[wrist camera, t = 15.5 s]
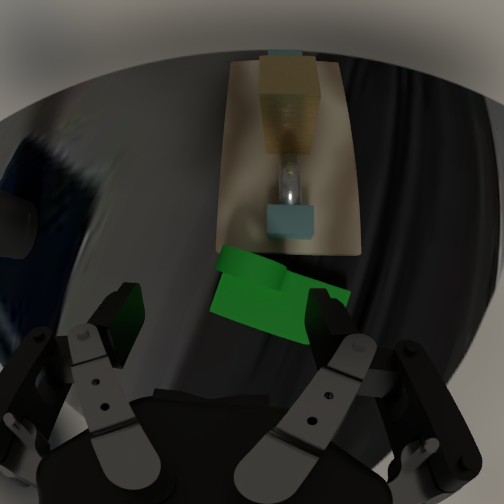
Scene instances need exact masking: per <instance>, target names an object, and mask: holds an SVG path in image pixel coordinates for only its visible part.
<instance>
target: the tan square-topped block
mask: <svg viewBox="0 0 504 504" xmlns="http://www.w3.org/2000/svg"><path fill="white" fill-rule="evenodd" d="M320 99H321V90H320V83H319V77H318V70H317V64H316V58H315V56H288V55H272V56H259V101H260V108H261V116H262V124H263V131H264V140H265V148H266V154H285V153H294V154H297V155H310V151H311V146H312V141H313V136H314V131H315V126H316V120H317V115H318V110H319V104H320Z"/></svg>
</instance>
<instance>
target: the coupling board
mask: <svg viewBox="0 0 504 504" xmlns="http://www.w3.org/2000/svg"><path fill="white" fill-rule="evenodd" d="M272 55H288V56H302V50H268V56H272ZM316 64H317V70H318V77H319V83H320V90H321V99H320V104H319V110H318V115H317V120H316V126H315V131H314V136H313V141H312V146H311V151H310V155H297V154H294V153H285V154H266V148H265V140H264V131H263V124H262V116H261V108H260V101H259V60H252V61H236V62H231V66H230V75H229V84H228V93H227V103H226V113H225V124H224V135H223V146H222V159H221V172H220V186H219V201H218V217H217V236H216V252H218V253H220V251H221V249H222V246H223V245H226V246H231V247H234V248H238V249H241V250H245V251H248V252H251V253H254V254H285V255H346V256H357V255H360V254H361V232H360V212H359V197H358V185H357V175H356V165H355V157H354V149H353V141H352V134H351V127H350V121H349V115H348V109H347V104H346V98H345V93H344V88H343V83H342V78H341V74H340V69H339V65H338V63H335V62H323V61H316Z"/></svg>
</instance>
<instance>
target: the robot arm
mask: <svg viewBox="0 0 504 504" xmlns="http://www.w3.org/2000/svg"><path fill="white" fill-rule="evenodd" d="M37 231H38V213H37V209H36V207H35V205H34V204H33V203H31V202H29V201H26V200H24V199H21V198H18V197H16V196H14V195H11V194H8V193H6V192H3V191H1V190H0V256H2V257H8V258H14V259H23V258H25V257H26V256H27V255H28V254H29V253H30V251H31V249H32V247H33V245H34V242H35V239H36V236H37ZM144 320H145V309H144V304H143V298H142V292H141V287H140V284H139V283H128V282H124V283H123V284H122V285H121V287H120V288H119V289H118V291H117V292H113V293H111V294H110V295H108V296H107V297H106V298H105V299H104V300H103V302H102V304H100V306H99V307H98V309H97V310H96V311H95V312H94V314H93V315H92V316H91V318H90V319H89V321H88V322H87V323H84V324H79V325H77V326H75V327H73V328H72V329H71V330H70V331H69V333H68V336H55V337H54V336H53V333H52V331H51V329H50V328H48V327H38V328H35V329H33V330H32V331H30V332H29V333H28V334H27V336H26V337H25V338H24V340H23V341H22V342H21V344H20V345H19V347H18V348H17V349H16V351H15V352H14V353H13V355H12V356H11V358H10V359H9V361H8V362H7V364H6V365H5V366H4V368H3V370H2V371H1V372H0V472H2V473H3V474H4V475H5V476H7V477H8V478H9V479H11V480H12V481H13V482H15V483H16V484H17V485H19V486H22V487H29V486H32V487H34V488H36V489H37V490H38V496H39V504H437V503H439V502H441V501H443V500H444V499H446V498H448V497H449V496H451V495H452V494H454V493H455V492H456V491H458V490H460V489H461V488H462V486H464V485H465V484H467V483H468V482H469V481H471V480H472V479H473V478H475V477H476V476H477V475H478V474H479V472H480V470H481V468H482V457H481V454H480V452H479V449H478V447H477V445H476V443H475V441H474V438H473V436H472V434H471V432H470V430H469V428H468V426H467V424H466V422H465V420H464V418H463V416H462V415H461V412H460V410H459V409H458V407H457V405H456V403H455V401H454V399H453V397H452V396H451V394H450V392H449V390H448V389H447V387H446V385H445V383H444V381H443V380H442V378H441V376H440V375H439V373H438V371H437V370H436V368H435V366H434V365H433V363H432V361H431V360H430V358H429V356H428V355H427V353H426V352H425V350H424V348H423V347H422V346H421V345H420V344H418V343H417V342H414V341H411V340H401V341H399V342H398V343H397V344H396V346H395V348H394V349H386V348H379V347H377V345H376V343H375V342H374V340H373V339H371V338H370V337H368V336H366V335H363V334H360V333H359V331H358V330H357V328H356V326H355V324H354V322H353V320H352V319H351V317H350V315H349V313H348V312H347V309H346V308H345V306H344V304H343V303H342V302H340V301H339V300H338V299H337V298H331V297H330V295H329V293H328V291H327V289H326V288H310V289H309V292H308V299H307V305H306V311H305V318H304V324H305V330H306V333H307V336H308V340H309V343H310V346H311V350H312V353H313V356H314V360H315V363H316V367H317V370H318V373H317V374H316V375H315V377H314V378H313V380H312V381H311V382H310V384H309V385H308V386H307V388H306V389H305V390H304V392H303V393H302V394H301V396H300V397H299V398H298V400H297V401H296V402H295V404H294V405H293V406H292V407H291V409H288V408H286V407H283V406H281V405H277V404H274V403H269V395H236V396H230V397H223V398H217V399H206V398H202V397H199V396H195V395H192V394H189V393H185V392H182V391H173V390H165V389H157V388H155V389H154V393H153V396H149V397H143V398H139V399H136V400H133V401H131V402H129V403H128V401H127V399H126V397H125V395H124V393H123V391H122V388H121V386H120V384H119V382H118V380H117V377H116V375H115V373H114V370H113V368H118V369H123V367H124V364H125V362H126V360H127V358H128V355H129V353H130V351H131V349H132V347H133V345H134V342H135V340H136V338H137V336H138V334H139V332H140V330H141V328H142V325H143V323H144ZM40 371H41V372H42V374H43V378H42V380H41V381H40V383H39V385H38V387H37V389H36V386H35V381H36V378H37V376H38V374H39V373H40ZM72 383H75V386H76V390H77V393H78V397H79V400H80V404H81V407H82V410H83V413H84V416H85V419H86V422H87V425H88V429H86V430H85V431H83V432H82V433H80V434H78V435H77V436H75V437H74V438H72V439H70V440H68V441H67V442H65V443H63V444H61V445H60V446H58V447H57V448H55V449H53V450H51V451H50V444H49V442H48V440H49V437H50V435H51V432H52V429H53V427H54V424H55V422H56V420H57V417H58V415H59V412H60V410H61V408H62V405H63V403H64V401H65V399H66V396H67V394H68V392H69V390H70V388H71V385H72ZM357 395H363V396H372V397H375V399H376V402H377V405H378V408H379V411H380V414H381V417H382V420H383V423H384V426H385V429H386V432H387V435H388V438H389V441H390V445H391V448H392V451H393V454H394V459H393V460H392V461H391V463H390V464H389V467H388V481H387V482H386V481H385V480H384V479H383V478H382V477H381V476H380V475H378V474H377V473H375V472H374V471H372V470H371V469H369V468H368V467H367V466H365V465H364V464H362V463H361V462H359V461H358V460H357V459H355V458H354V457H352V456H351V455H350V454H348V453H347V452H346V451H344V450H343V449H341V448H340V447H339V446H337V445H336V444H335V443H333V442H332V440H333V439H334V437H335V435H336V433H337V432H338V430H339V428H340V426H341V424H342V423H343V421H344V419H345V417H346V415H347V413H348V412H349V410H350V408H351V406H352V404H353V402H354V400H355V398H356V396H357Z"/></svg>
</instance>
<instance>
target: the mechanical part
mask: <svg viewBox="0 0 504 504" xmlns="http://www.w3.org/2000/svg"><path fill="white" fill-rule="evenodd" d="M286 268H287V267H286V266H284V265H282V264H280V263H278V262H275V261H273V260H270V259H268V258H265V257H262V256H260V255H257V254H254V253H251V252H248V251H245V250H241V249H238V248H234V247H231V246H226V245H223V246H222V249H221V251H220V254H219V257H218V260H217V263H216V266H215V270H218V271H221V272H223V273H222V276H221V279H220V282H219V285H218V288H217V290H216V293H215V296H214V299H213V302H212V305H211V308H210V312H213V313H216V314H218V315H221V316H223V317H226V318H229V319H232V320H234V321H237V322H240V323H243V324H245V325H248V326H251V327H254V328H257V329H260V330H262V331H265V332H268V333H271V334H274V335H277V336H280V337H283V338H286V339H289V340H293V341H296V342H299V343H303V344H310V343H309V340H308V336H307V333H306V330H305V324H304V318H305V311H306V305H307V299H308V292H309V289H310V288H326V289H327V291H328V293H329V295H330V297H331V298H337V299H338V300H339V301H340V302H342V303H343V304H344V306H345V308H346V305H347V302H348V299H349V296H350V293H351V291H348V290H345V289H342V288H339V287H336V286H332V285H329V284H326V283H323V282H320V281H317V280H314V279H311V278H308V277H305V276H302V275H299V274H296V273H293V272H291V271H288V270H286Z"/></svg>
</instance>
